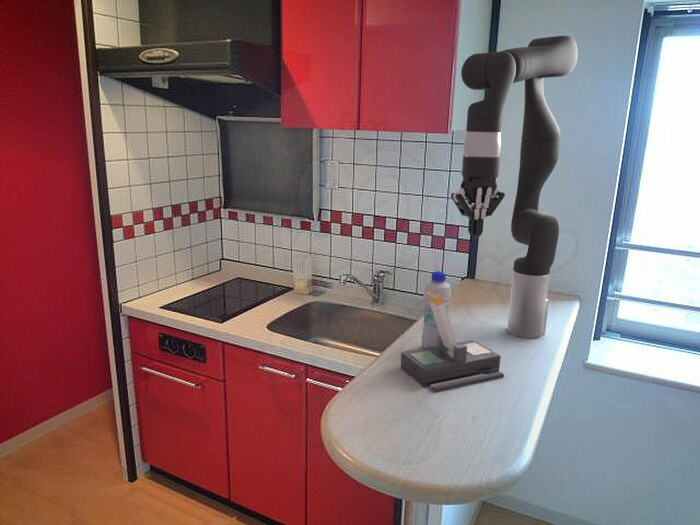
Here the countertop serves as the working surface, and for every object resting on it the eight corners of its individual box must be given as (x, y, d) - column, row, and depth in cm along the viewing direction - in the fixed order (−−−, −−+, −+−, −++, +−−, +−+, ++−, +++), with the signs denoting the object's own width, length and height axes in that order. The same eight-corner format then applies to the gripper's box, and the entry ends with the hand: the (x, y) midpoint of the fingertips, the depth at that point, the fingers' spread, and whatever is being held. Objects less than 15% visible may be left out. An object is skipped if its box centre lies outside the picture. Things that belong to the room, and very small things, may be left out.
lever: (449, 344, 121) (431, 289, 115) (460, 351, 117) (442, 294, 111) (443, 348, 120) (425, 292, 115) (454, 355, 116) (436, 298, 111)
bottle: (447, 355, 128) (452, 276, 123) (419, 352, 129) (424, 274, 124) (447, 344, 134) (453, 269, 129) (421, 342, 135) (425, 267, 131)
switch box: (471, 355, 128) (474, 327, 126) (499, 371, 119) (501, 342, 118) (400, 368, 120) (402, 339, 118) (424, 387, 111) (426, 356, 109)
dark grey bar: (497, 373, 118) (497, 370, 118) (503, 377, 117) (503, 374, 116) (429, 388, 111) (430, 384, 111) (435, 392, 109) (435, 388, 109)
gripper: (495, 153, 116) (488, 231, 120) (444, 153, 110) (439, 234, 114) (518, 155, 109) (510, 237, 113) (466, 155, 104) (460, 241, 108)
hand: (474, 235), depth 114 cm, fingers closed
